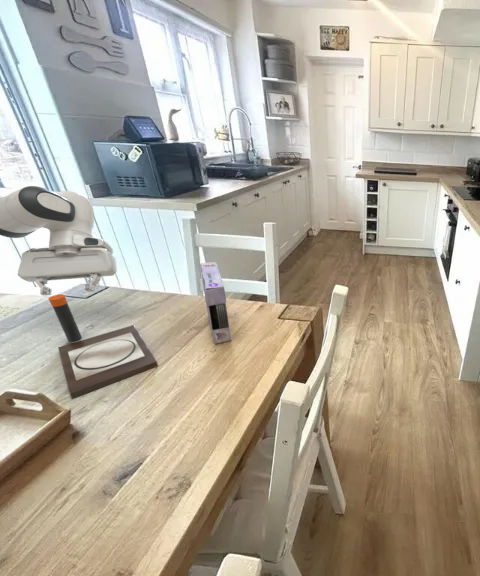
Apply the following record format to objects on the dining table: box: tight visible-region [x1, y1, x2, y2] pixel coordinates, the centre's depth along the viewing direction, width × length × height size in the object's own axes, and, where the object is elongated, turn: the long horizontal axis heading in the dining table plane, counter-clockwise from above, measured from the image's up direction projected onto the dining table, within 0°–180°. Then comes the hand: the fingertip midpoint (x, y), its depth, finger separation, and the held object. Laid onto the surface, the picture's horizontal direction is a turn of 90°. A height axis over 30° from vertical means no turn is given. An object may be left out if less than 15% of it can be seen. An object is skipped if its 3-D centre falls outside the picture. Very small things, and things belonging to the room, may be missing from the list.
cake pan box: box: [199, 261, 232, 345], centre depth 93 cm, size 19×5×18 cm, turn 31°
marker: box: [48, 293, 83, 343], centre depth 85 cm, size 3×3×13 cm
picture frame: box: [57, 324, 159, 399], centre depth 81 cm, size 22×16×2 cm
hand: (68, 292), depth 87 cm, fingers open, 8 cm apart
